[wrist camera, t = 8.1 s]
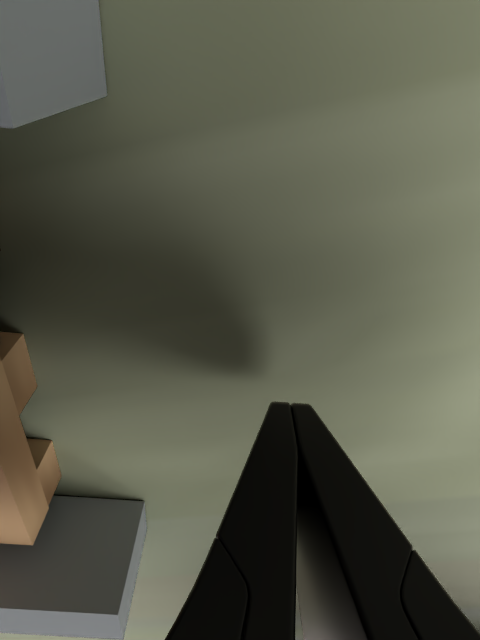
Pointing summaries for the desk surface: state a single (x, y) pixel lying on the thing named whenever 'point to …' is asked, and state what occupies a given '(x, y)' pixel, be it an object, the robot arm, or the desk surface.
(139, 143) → the desk surface
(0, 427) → the pallet
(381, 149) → the desk surface
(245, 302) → the desk surface
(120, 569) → the dock
